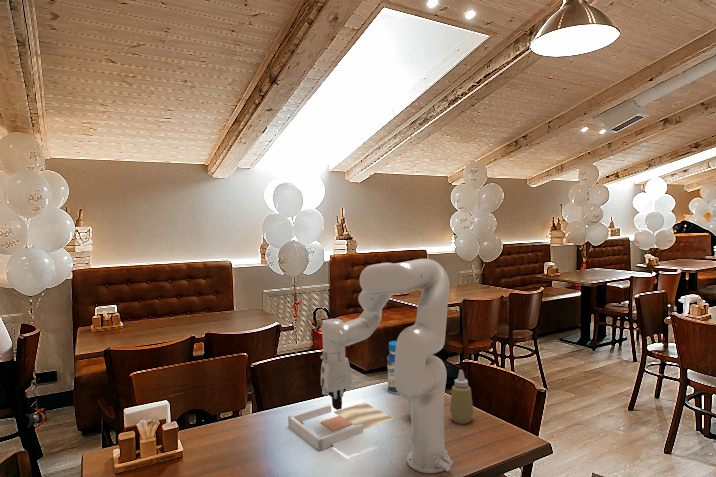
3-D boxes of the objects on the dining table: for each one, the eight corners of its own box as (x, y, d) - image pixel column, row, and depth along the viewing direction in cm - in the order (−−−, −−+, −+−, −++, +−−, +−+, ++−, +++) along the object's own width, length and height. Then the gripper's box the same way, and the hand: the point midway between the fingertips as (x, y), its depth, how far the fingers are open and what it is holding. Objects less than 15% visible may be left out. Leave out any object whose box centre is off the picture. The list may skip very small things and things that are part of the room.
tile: (352, 429, 164) (352, 423, 164) (333, 435, 159) (332, 430, 159) (340, 420, 170) (340, 415, 170) (320, 427, 166) (320, 421, 166)
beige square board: (394, 421, 168) (394, 418, 168) (361, 432, 160) (361, 430, 160) (364, 404, 183) (364, 402, 182) (333, 414, 175) (333, 411, 174)
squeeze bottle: (475, 425, 163) (475, 374, 162) (452, 426, 163) (451, 374, 162) (470, 415, 171) (470, 366, 170) (448, 415, 171) (447, 366, 170)
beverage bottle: (411, 388, 197) (410, 341, 196) (402, 396, 190) (401, 346, 189) (393, 385, 202) (392, 338, 200) (384, 392, 194) (382, 344, 193)
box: (363, 435, 158) (363, 425, 158) (319, 451, 149) (319, 440, 148) (329, 413, 176) (329, 404, 175) (288, 426, 166) (288, 416, 166)
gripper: (321, 362, 156) (324, 417, 156) (358, 353, 164) (361, 405, 165) (309, 357, 162) (313, 411, 163) (346, 349, 170) (349, 399, 171)
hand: (337, 408), depth 164 cm, fingers closed
